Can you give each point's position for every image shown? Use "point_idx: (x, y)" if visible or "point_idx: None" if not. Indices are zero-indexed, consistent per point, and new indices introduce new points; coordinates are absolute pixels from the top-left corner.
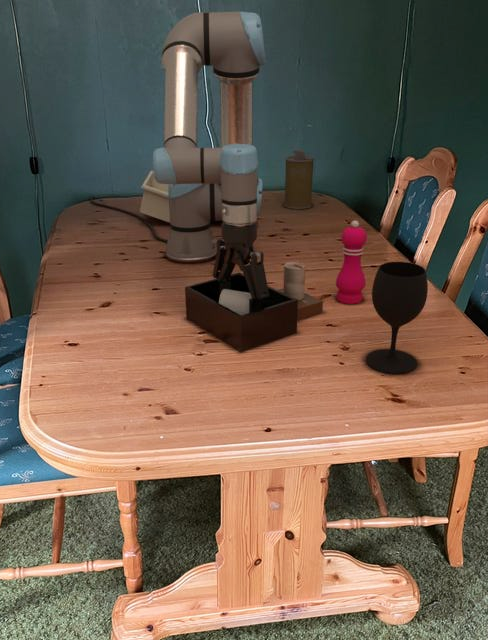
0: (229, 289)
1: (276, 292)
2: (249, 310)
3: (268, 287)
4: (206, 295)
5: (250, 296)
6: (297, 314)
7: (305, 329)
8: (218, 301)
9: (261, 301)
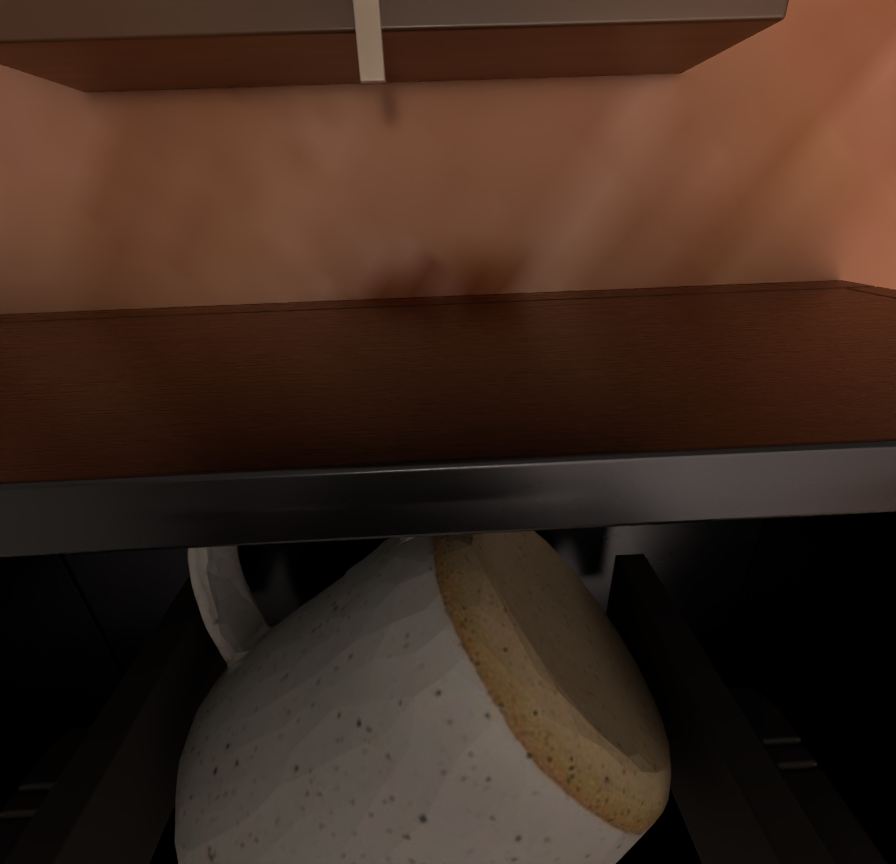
0: (106, 808)
1: (817, 510)
2: (671, 775)
3: (497, 518)
4: (12, 783)
5: (607, 854)
6: (731, 43)
7: (874, 148)
8: (27, 604)
9: (876, 859)
